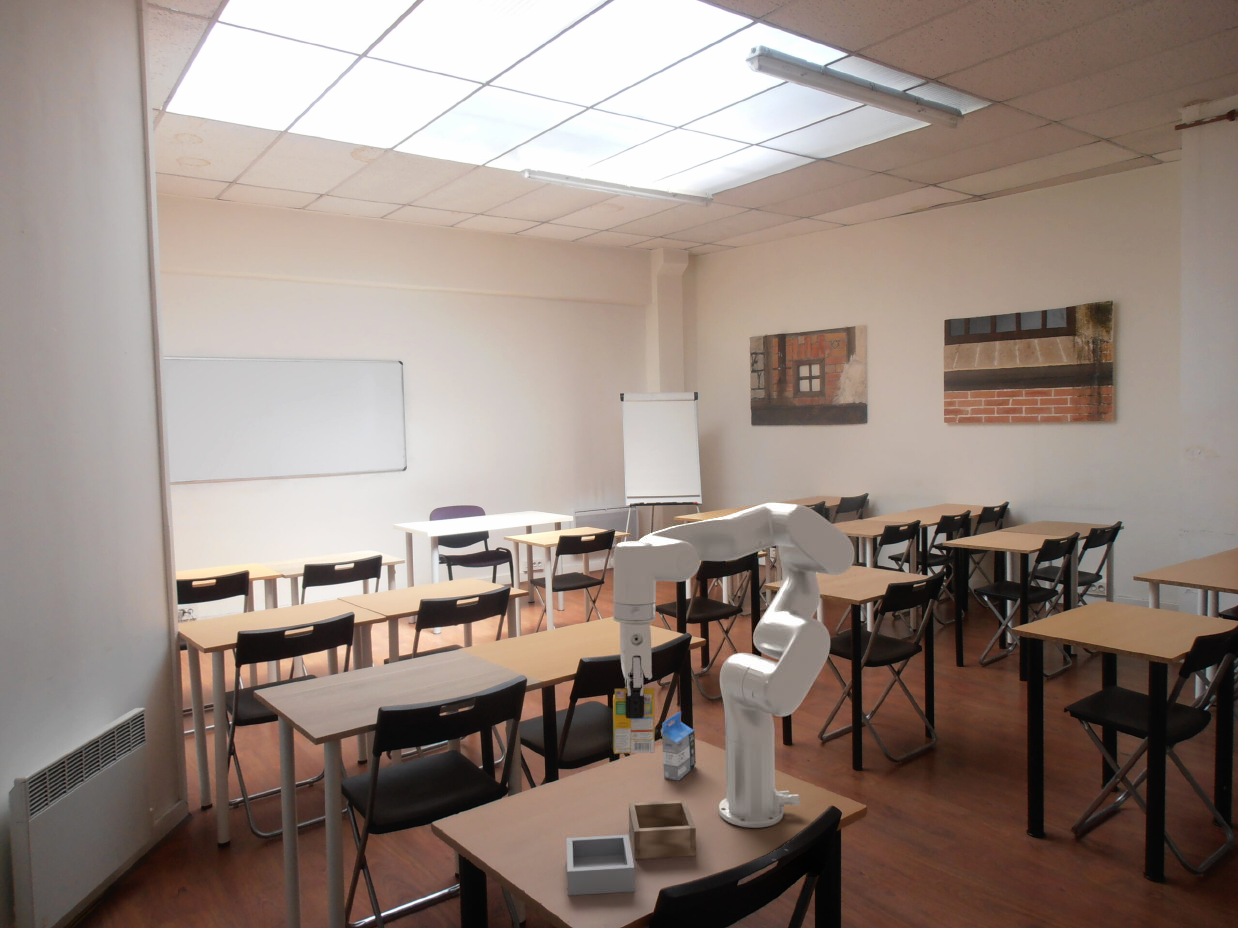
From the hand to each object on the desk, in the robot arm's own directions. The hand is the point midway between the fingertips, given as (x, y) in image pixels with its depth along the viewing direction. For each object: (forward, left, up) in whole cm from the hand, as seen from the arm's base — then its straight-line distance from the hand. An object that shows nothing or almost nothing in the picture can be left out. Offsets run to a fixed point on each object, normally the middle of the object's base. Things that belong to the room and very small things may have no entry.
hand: (633, 712), depth 143 cm
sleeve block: (-5, -4, -26) cm, 27 cm away
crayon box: (0, 0, -7) cm, 7 cm away
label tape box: (-13, -34, -26) cm, 45 cm away
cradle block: (+7, +6, -26) cm, 27 cm away
